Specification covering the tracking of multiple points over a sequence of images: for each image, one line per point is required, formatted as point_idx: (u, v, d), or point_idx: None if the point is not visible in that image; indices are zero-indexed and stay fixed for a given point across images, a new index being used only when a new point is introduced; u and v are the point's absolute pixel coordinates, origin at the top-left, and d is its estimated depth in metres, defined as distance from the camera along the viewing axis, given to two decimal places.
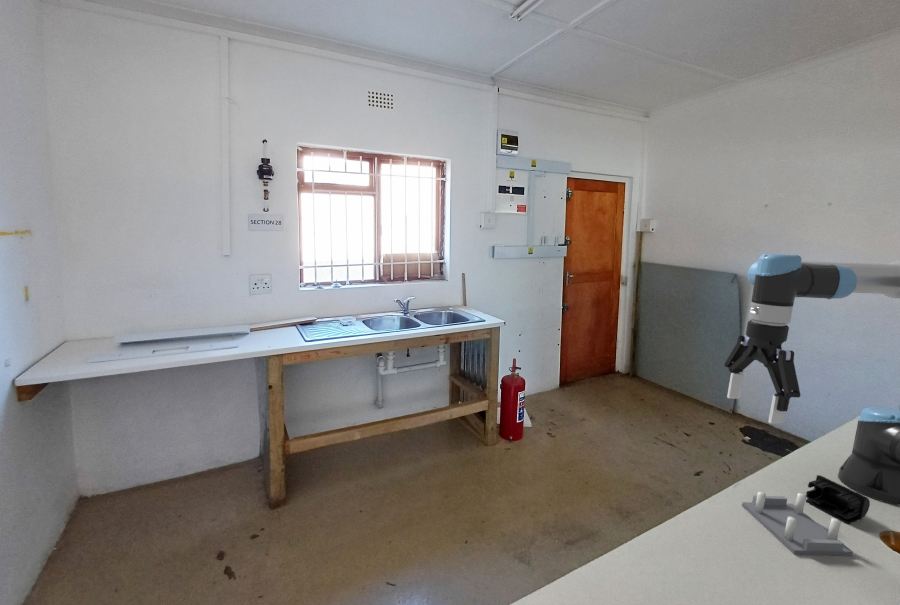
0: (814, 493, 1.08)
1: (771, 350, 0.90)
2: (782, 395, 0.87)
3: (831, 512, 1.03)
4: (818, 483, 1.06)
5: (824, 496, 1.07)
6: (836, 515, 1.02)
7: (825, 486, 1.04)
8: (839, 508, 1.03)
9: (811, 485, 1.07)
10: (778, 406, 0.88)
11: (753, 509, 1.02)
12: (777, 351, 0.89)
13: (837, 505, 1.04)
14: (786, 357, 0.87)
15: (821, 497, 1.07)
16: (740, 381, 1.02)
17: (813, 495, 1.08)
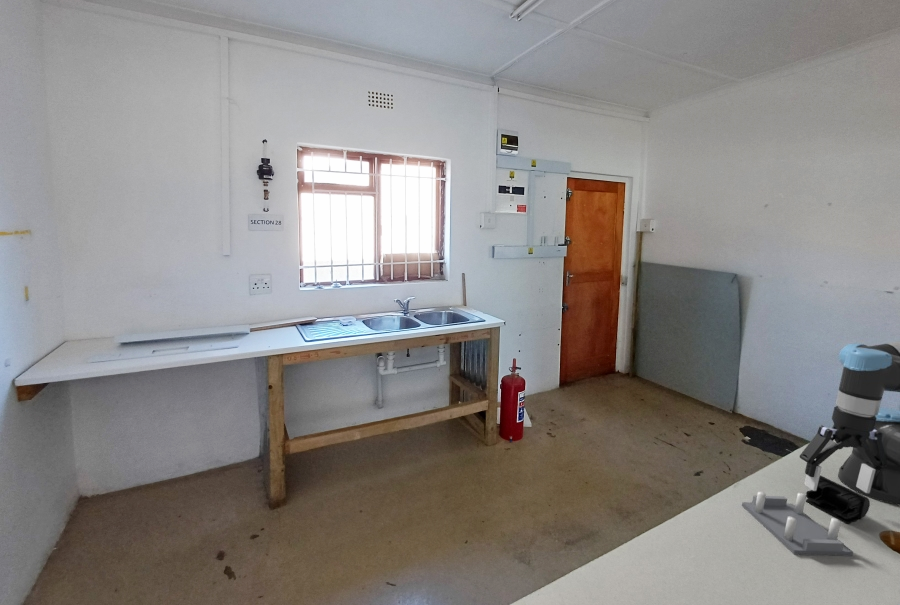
0: (814, 493, 1.08)
1: None
2: None
3: (831, 512, 1.03)
4: (818, 483, 1.06)
5: (824, 496, 1.07)
6: (836, 515, 1.02)
7: (825, 486, 1.04)
8: (839, 508, 1.03)
9: None
10: None
11: (753, 509, 1.02)
12: None
13: (837, 505, 1.04)
14: (821, 431, 1.01)
15: (821, 497, 1.07)
16: (868, 475, 1.02)
17: (813, 495, 1.08)
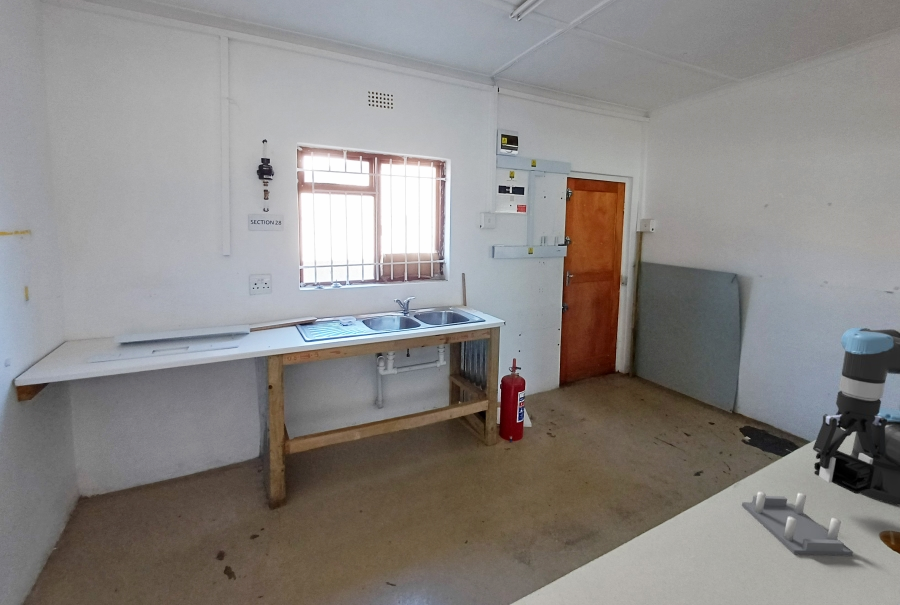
0: None
1: None
2: None
3: (840, 482, 1.01)
4: None
5: None
6: (845, 485, 1.00)
7: None
8: (848, 478, 1.01)
9: (819, 456, 1.05)
10: None
11: (753, 509, 1.02)
12: None
13: (846, 476, 1.02)
14: (825, 421, 1.01)
15: None
16: None
17: None
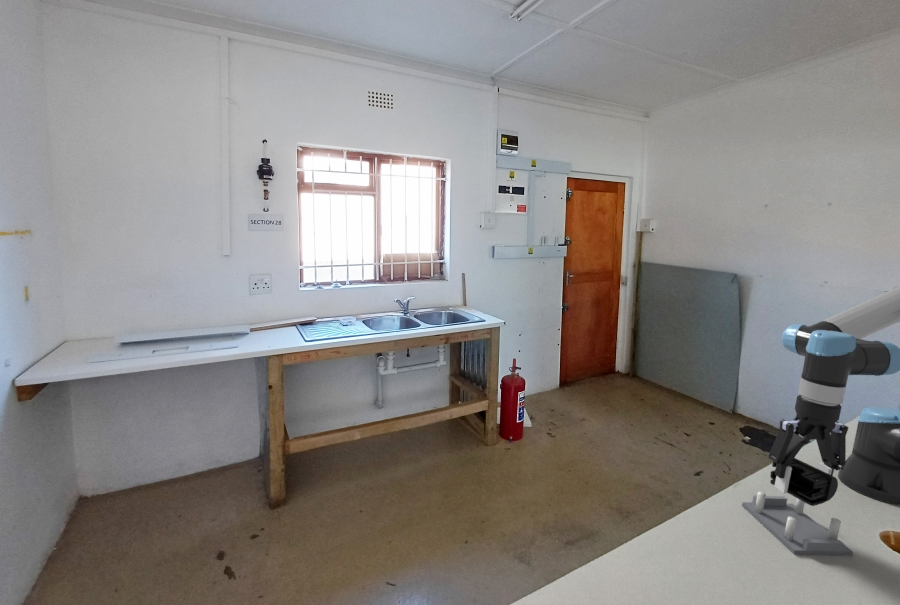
0: None
1: None
2: None
3: (796, 493, 0.94)
4: None
5: (790, 476, 0.98)
6: (801, 496, 0.93)
7: (790, 465, 0.95)
8: (805, 489, 0.94)
9: None
10: None
11: (753, 509, 1.02)
12: None
13: (803, 486, 0.95)
14: (782, 427, 0.93)
15: None
16: None
17: None
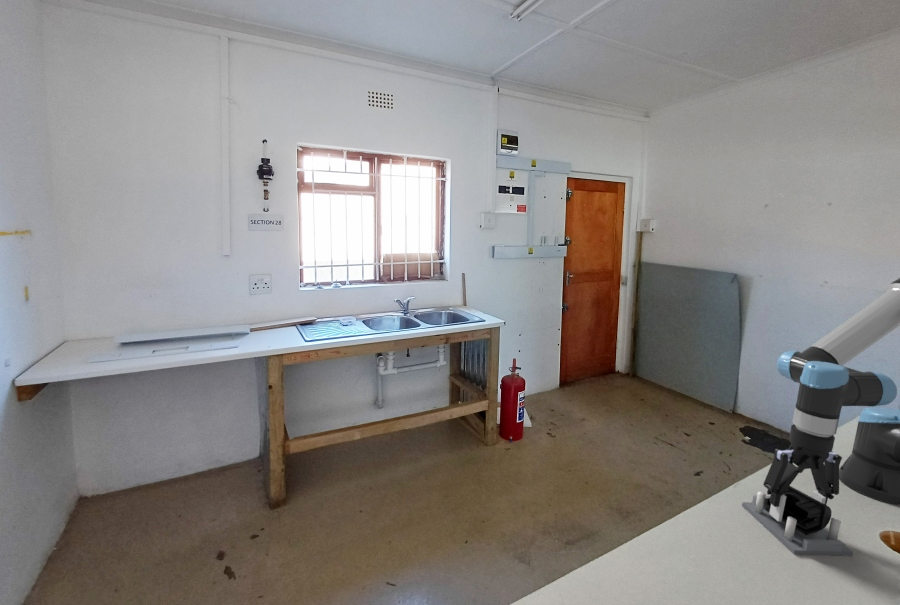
0: None
1: None
2: None
3: None
4: None
5: (785, 504, 0.99)
6: None
7: (785, 493, 0.96)
8: (799, 517, 0.95)
9: (770, 492, 0.99)
10: None
11: (753, 509, 1.02)
12: None
13: (798, 514, 0.96)
14: (777, 456, 0.94)
15: None
16: None
17: None
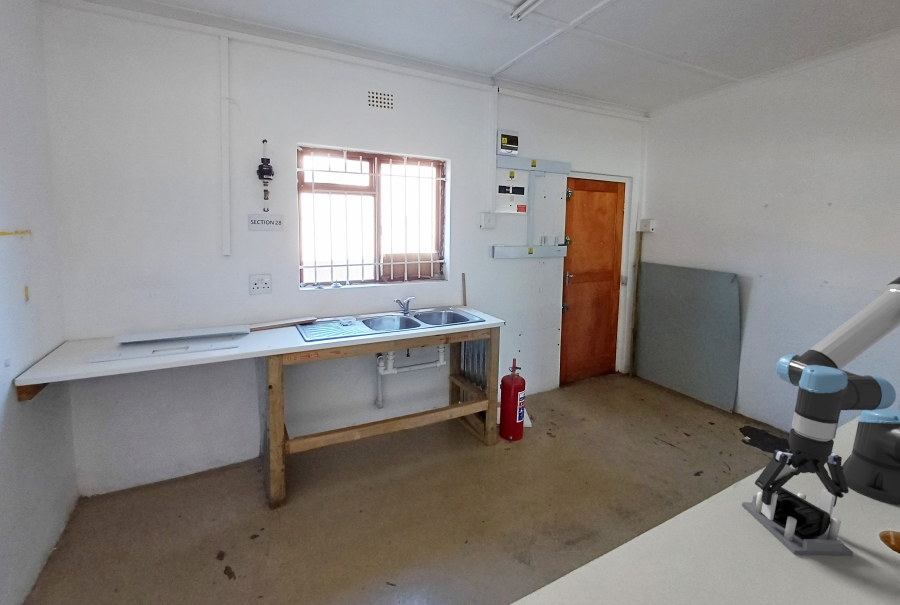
0: None
1: None
2: None
3: None
4: None
5: (784, 509, 0.99)
6: None
7: (784, 499, 0.97)
8: (798, 523, 0.95)
9: None
10: None
11: (753, 509, 1.02)
12: None
13: (797, 520, 0.96)
14: (776, 456, 0.94)
15: (781, 510, 0.99)
16: (828, 502, 0.95)
17: None
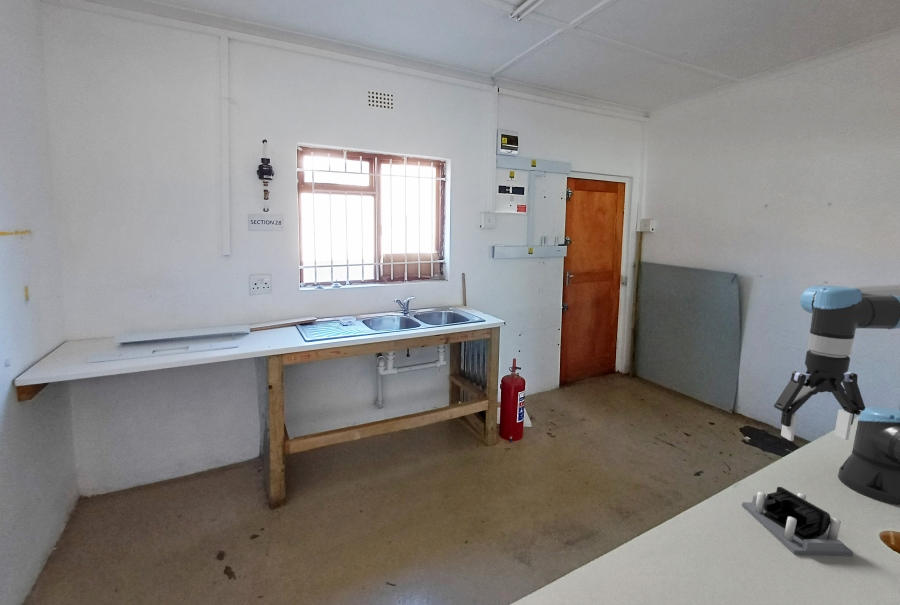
0: (774, 506, 1.00)
1: None
2: None
3: None
4: (777, 495, 0.98)
5: (784, 509, 0.99)
6: None
7: (784, 499, 0.97)
8: (798, 523, 0.95)
9: (770, 497, 0.99)
10: None
11: (753, 509, 1.02)
12: None
13: (797, 520, 0.96)
14: (794, 377, 0.96)
15: (781, 510, 0.99)
16: (846, 420, 0.97)
17: (772, 508, 1.00)
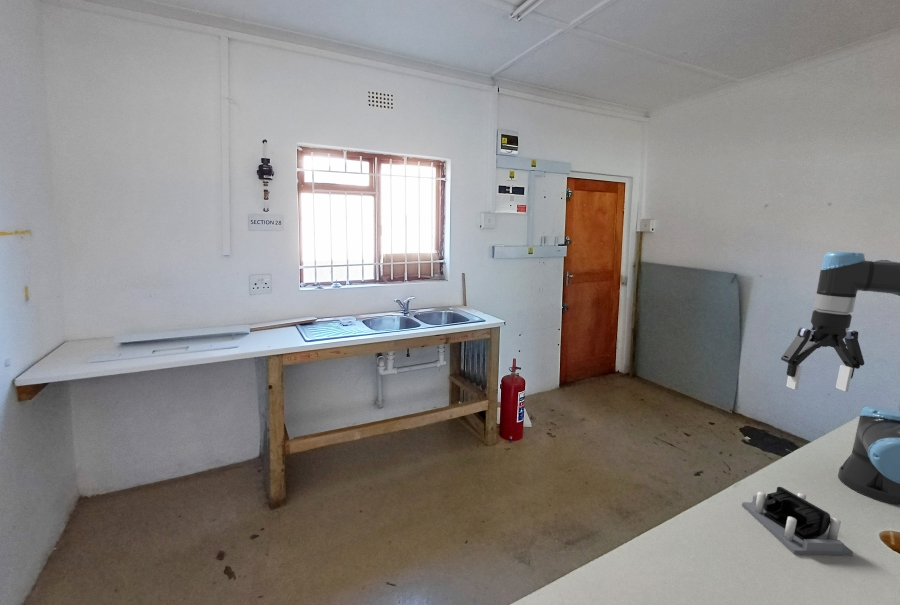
0: (774, 506, 1.00)
1: None
2: (788, 361, 1.09)
3: None
4: (777, 495, 0.98)
5: (784, 509, 0.99)
6: None
7: (784, 499, 0.97)
8: (798, 523, 0.95)
9: (770, 497, 0.99)
10: None
11: (753, 509, 1.02)
12: None
13: (797, 520, 0.96)
14: (800, 333, 1.07)
15: (781, 510, 0.99)
16: (846, 374, 1.08)
17: (772, 508, 1.00)
